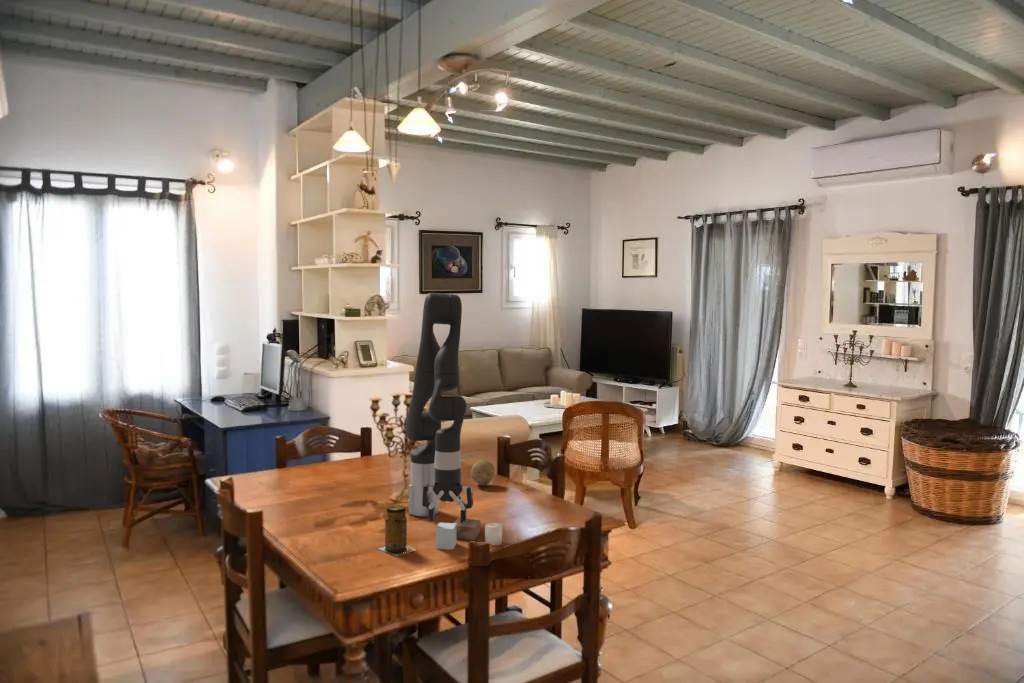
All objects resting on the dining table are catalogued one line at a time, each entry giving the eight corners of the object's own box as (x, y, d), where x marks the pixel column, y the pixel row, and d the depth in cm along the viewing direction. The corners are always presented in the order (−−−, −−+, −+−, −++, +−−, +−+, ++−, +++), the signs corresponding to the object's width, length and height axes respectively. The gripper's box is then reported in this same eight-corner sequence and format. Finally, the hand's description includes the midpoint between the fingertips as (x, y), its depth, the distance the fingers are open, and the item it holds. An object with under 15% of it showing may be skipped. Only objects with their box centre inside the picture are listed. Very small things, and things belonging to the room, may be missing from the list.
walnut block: (451, 538, 218) (451, 525, 218) (457, 531, 225) (457, 518, 225) (474, 540, 217) (474, 527, 217) (479, 532, 224) (480, 520, 224)
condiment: (398, 543, 214) (398, 502, 213) (416, 550, 208) (417, 508, 207) (377, 549, 208) (377, 507, 207) (396, 557, 203) (396, 514, 202)
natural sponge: (491, 490, 269) (491, 463, 268) (467, 488, 270) (468, 462, 270) (496, 483, 278) (496, 457, 277) (473, 482, 279) (473, 456, 278)
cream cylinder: (483, 545, 213) (483, 528, 213) (486, 539, 218) (486, 522, 218) (500, 545, 212) (501, 529, 212) (503, 540, 217) (503, 523, 217)
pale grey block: (435, 548, 209) (435, 528, 209) (439, 542, 214) (439, 522, 214) (453, 549, 209) (453, 529, 208) (456, 543, 214) (456, 523, 213)
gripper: (420, 468, 207) (420, 524, 208) (470, 469, 205) (470, 526, 206) (426, 462, 214) (426, 517, 215) (474, 463, 213) (474, 518, 214)
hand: (447, 521), depth 211 cm, fingers open, 8 cm apart
